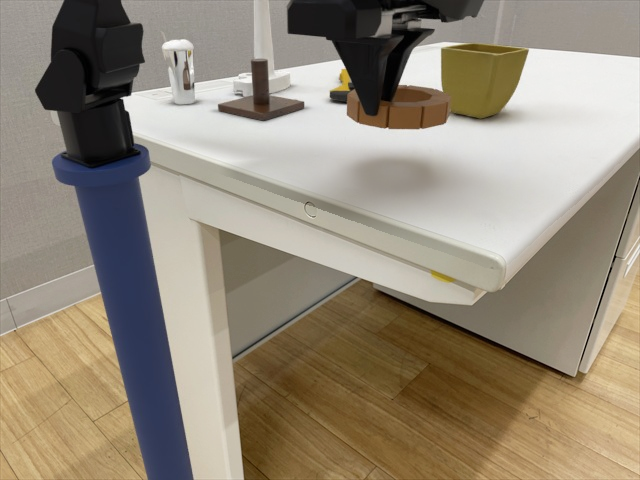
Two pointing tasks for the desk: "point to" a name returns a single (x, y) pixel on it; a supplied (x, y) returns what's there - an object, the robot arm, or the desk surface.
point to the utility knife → (342, 87)
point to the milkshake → (180, 69)
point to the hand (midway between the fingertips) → (377, 113)
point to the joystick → (262, 53)
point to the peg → (260, 98)
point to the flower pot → (481, 76)
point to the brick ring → (404, 109)
